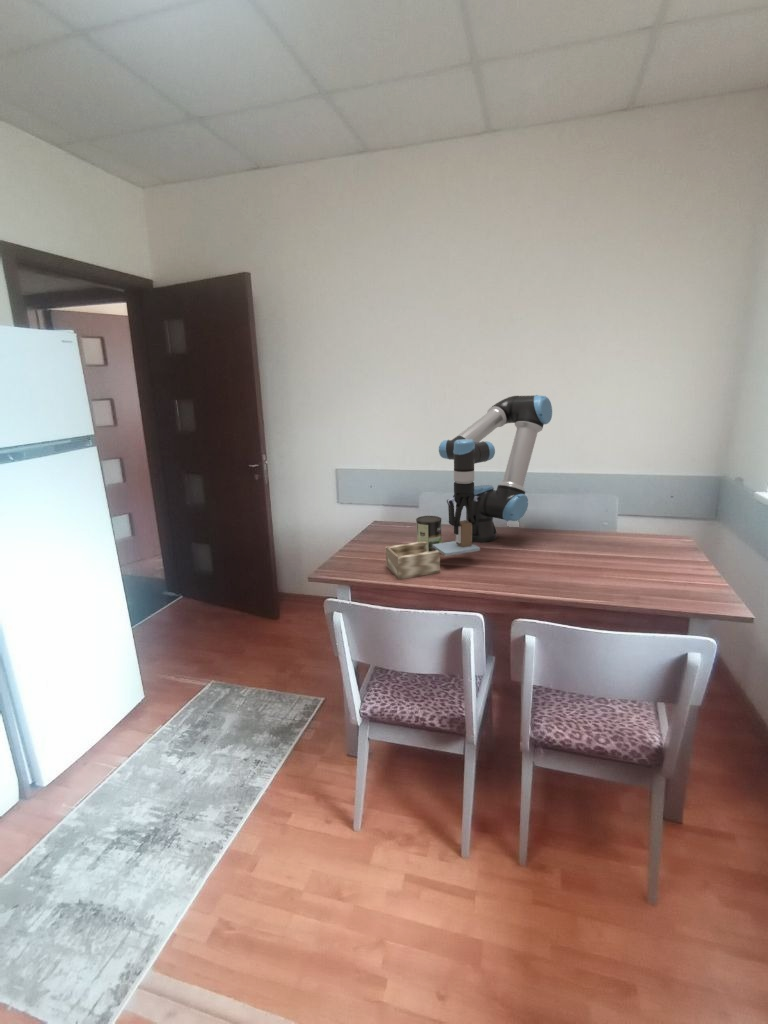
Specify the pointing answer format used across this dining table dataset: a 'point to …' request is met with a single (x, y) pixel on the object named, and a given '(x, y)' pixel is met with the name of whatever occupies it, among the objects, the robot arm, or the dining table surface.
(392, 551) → the box
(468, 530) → the lid
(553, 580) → the dining table surface
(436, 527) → the coffee can
